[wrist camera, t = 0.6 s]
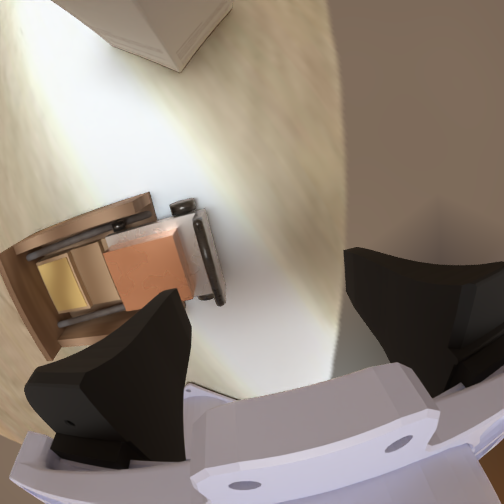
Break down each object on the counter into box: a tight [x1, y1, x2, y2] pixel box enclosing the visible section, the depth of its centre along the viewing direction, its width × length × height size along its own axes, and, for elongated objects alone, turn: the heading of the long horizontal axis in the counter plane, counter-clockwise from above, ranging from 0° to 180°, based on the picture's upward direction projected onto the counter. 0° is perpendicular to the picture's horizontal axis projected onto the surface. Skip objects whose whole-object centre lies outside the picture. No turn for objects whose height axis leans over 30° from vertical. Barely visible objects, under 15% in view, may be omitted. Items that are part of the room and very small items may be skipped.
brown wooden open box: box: [0, 192, 186, 361], centre depth 18 cm, size 13×10×6 cm
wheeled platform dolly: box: [103, 198, 226, 311], centre depth 19 cm, size 8×8×5 cm
